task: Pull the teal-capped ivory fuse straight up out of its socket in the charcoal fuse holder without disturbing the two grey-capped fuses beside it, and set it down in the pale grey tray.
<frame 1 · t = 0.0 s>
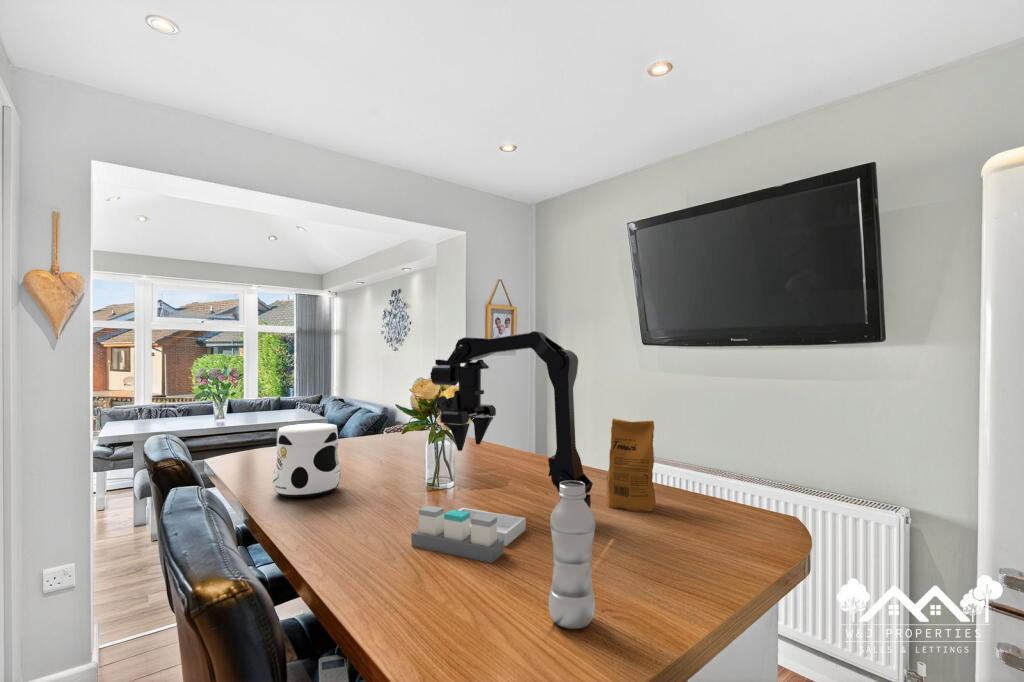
hand: (469, 447, 123), 15 cm above the kitchen island, tool pointing down, fingers open, 9 cm apart
fuse 2: (483, 554, 92), resting on fuse holder
fuse 1: (431, 543, 97), resting on fuse holder
fuse holder: (456, 551, 94), on the kitchen island
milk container: (307, 493, 133), on the kitchen island
coffee package: (630, 506, 124), on the kitchen island
plastic bottle: (571, 624, 70), on the kitchen island
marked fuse: (456, 549, 94), resting on fuse holder
tray: (482, 533, 104), on the kitchen island
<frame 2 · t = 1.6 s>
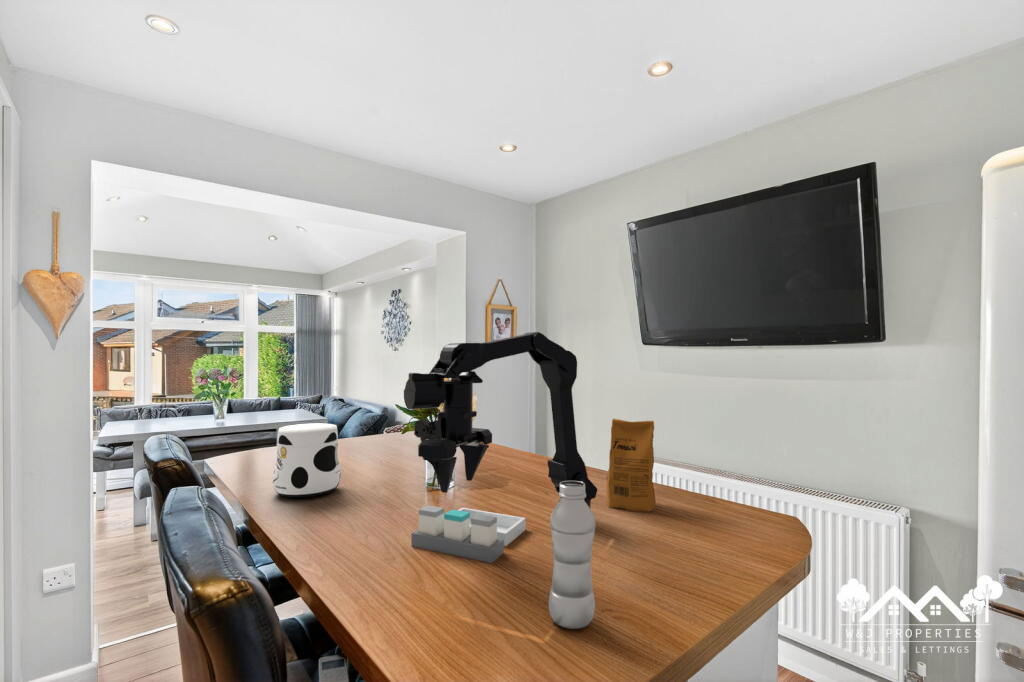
hand: (457, 486, 95), 13 cm above the kitchen island, tool pointing down, fingers open, 9 cm apart
nothing on the kitchen island moved.
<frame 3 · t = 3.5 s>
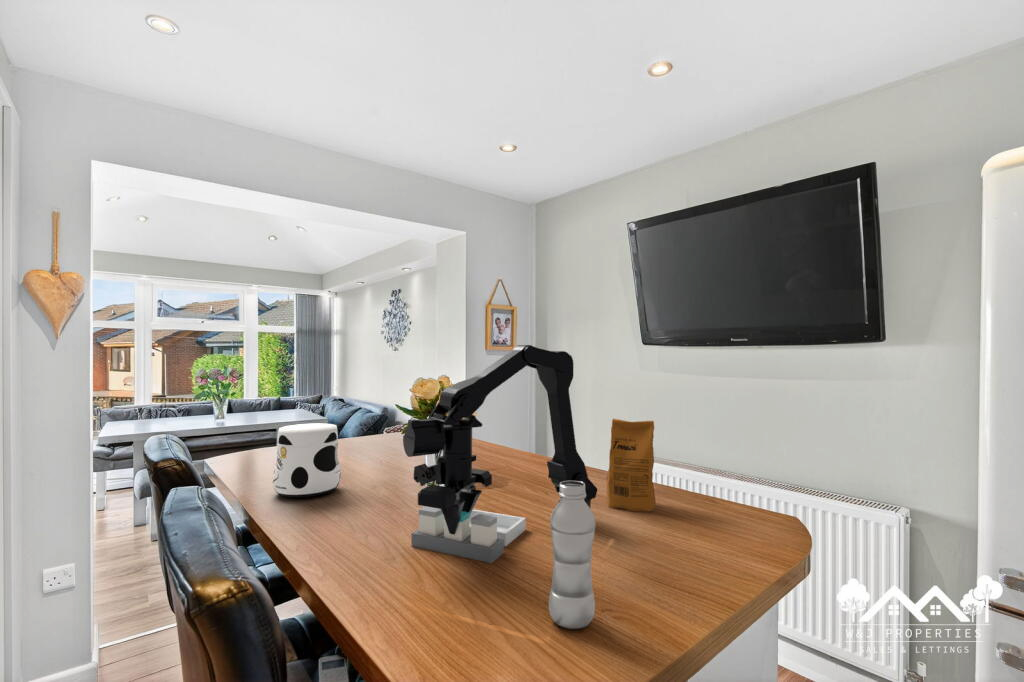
hand: (456, 531, 94), 4 cm above the kitchen island, tool pointing down, fingers closed on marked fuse, 3 cm apart
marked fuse: (456, 549, 94), resting on fuse holder, touching gripper
everything else where it was.
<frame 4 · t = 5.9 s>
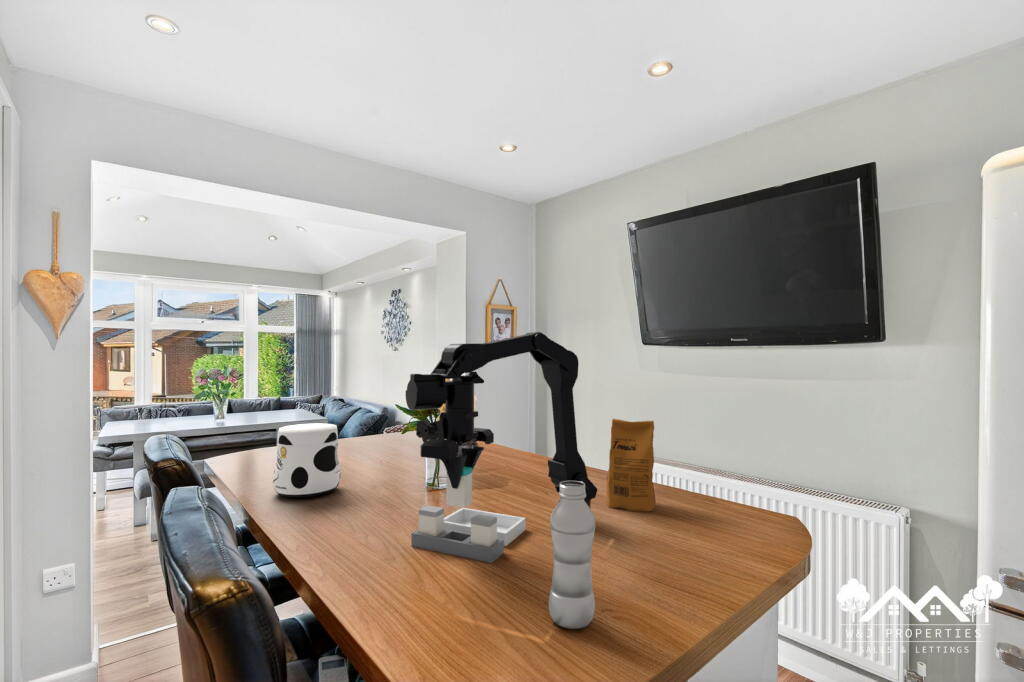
hand: (459, 486, 95), 13 cm above the kitchen island, tool pointing down, fingers closed on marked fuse, 3 cm apart
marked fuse: (459, 503, 95), point 9 cm above the kitchen island, touching gripper
everything else where it was.
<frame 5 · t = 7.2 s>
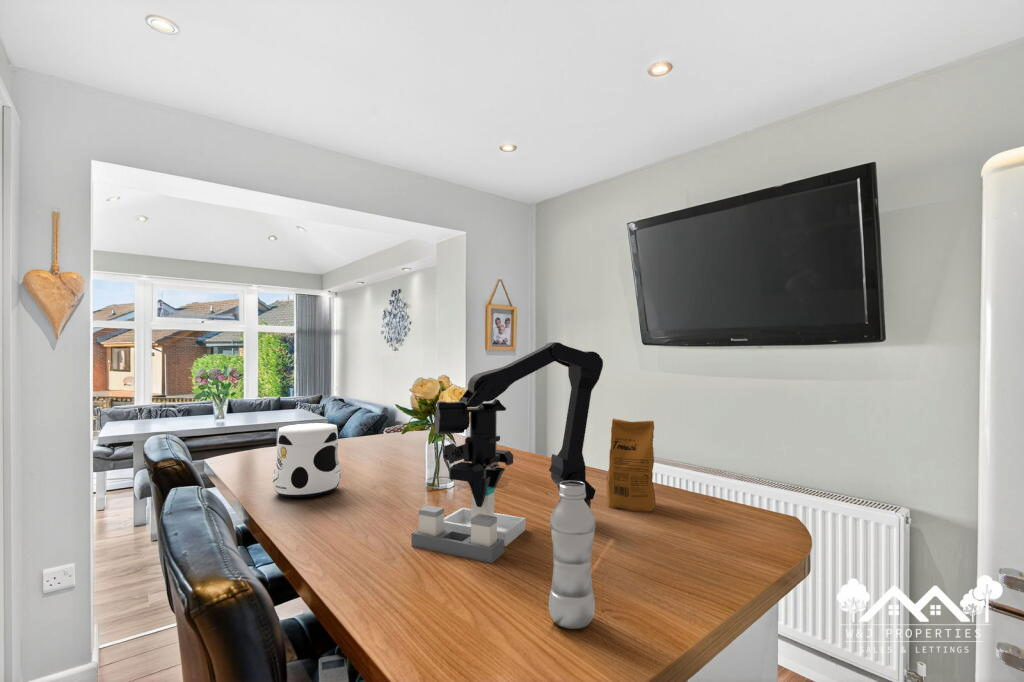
hand: (483, 504, 104), 6 cm above the kitchen island, tool pointing down, fingers closed on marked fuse, 3 cm apart
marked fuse: (482, 520, 104), point 3 cm above the kitchen island, touching gripper
everything else where it was.
when the fingers open (5 cm above the kitchen island, at t = 8.0 s): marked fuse stays where it is, resting on tray.
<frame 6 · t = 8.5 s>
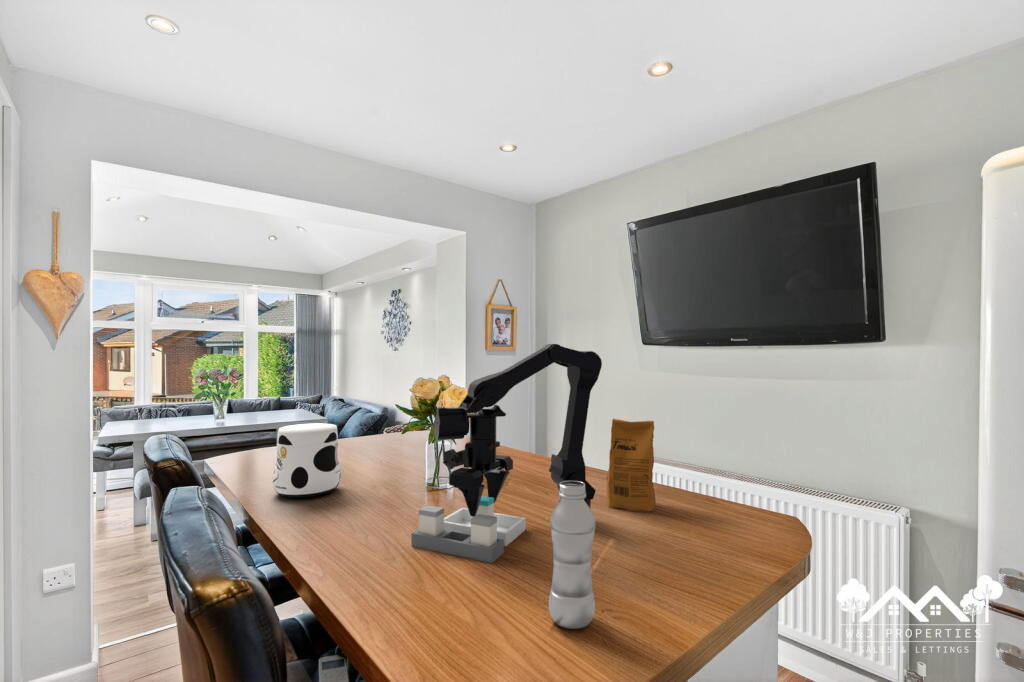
hand: (482, 510, 104), 5 cm above the kitchen island, tool pointing down, fingers open, 8 cm apart
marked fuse: (482, 531, 104), resting on tray
everything else where it was.
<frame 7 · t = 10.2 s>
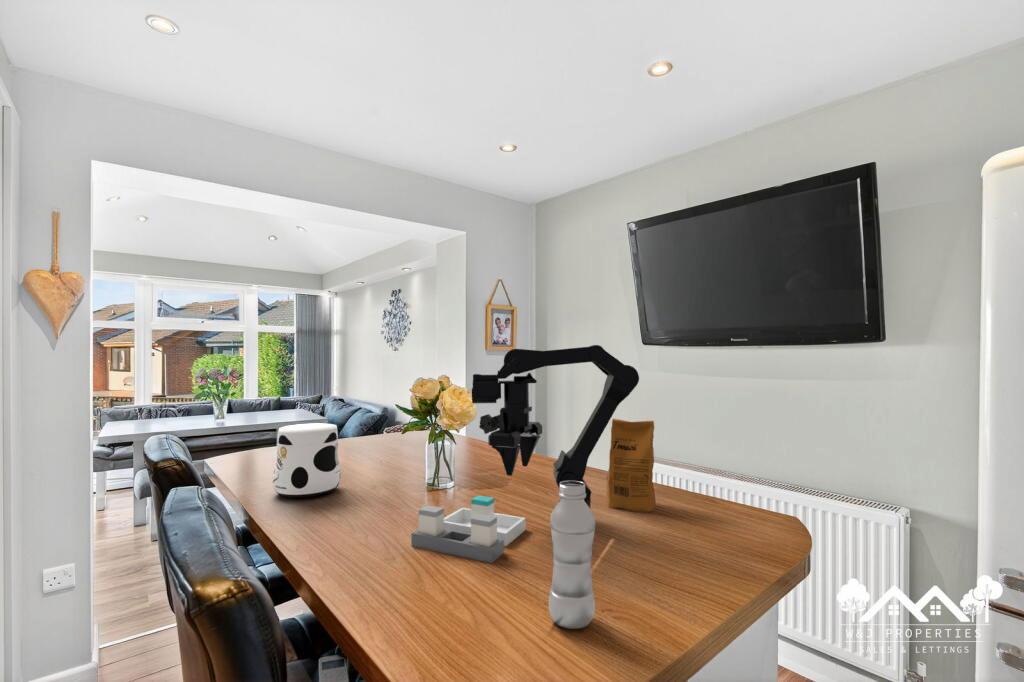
hand: (517, 470, 111), 12 cm above the kitchen island, tool pointing down, fingers open, 9 cm apart
nothing on the kitchen island moved.
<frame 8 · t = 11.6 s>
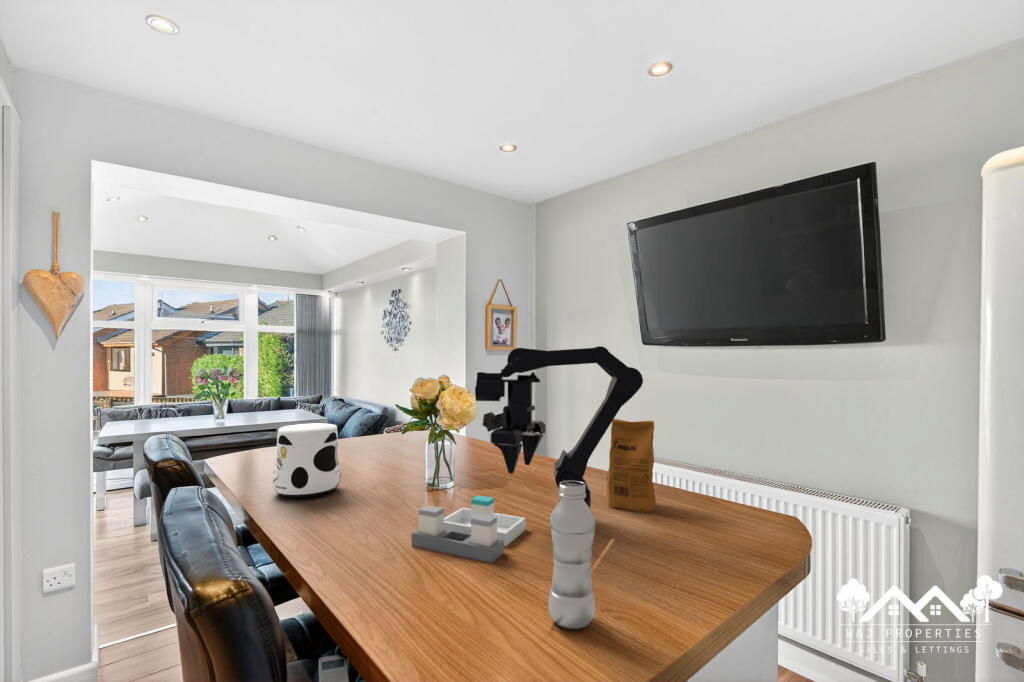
hand: (519, 468, 112), 12 cm above the kitchen island, tool pointing down, fingers open, 9 cm apart
nothing on the kitchen island moved.
at the end: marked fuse inside the target area on the tray (0.0 cm from its centre), point 0.5 cm above the tray's base; fuse 2 moved 0.0 cm from its start; fuse 1 moved 0.0 cm from its start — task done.
